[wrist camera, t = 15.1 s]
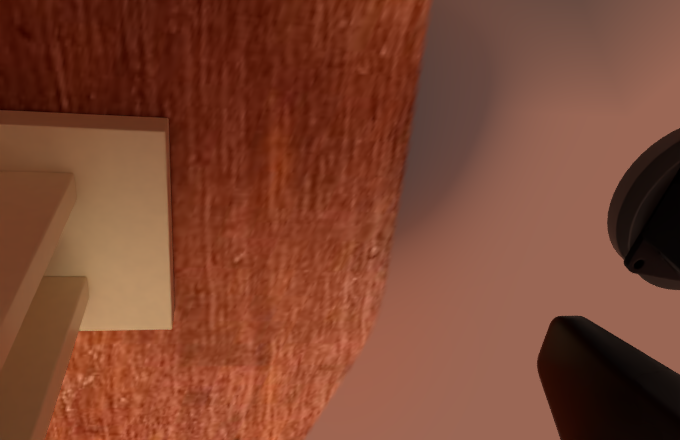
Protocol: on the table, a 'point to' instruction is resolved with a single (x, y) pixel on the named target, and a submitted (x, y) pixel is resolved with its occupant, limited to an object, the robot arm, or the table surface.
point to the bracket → (77, 246)
